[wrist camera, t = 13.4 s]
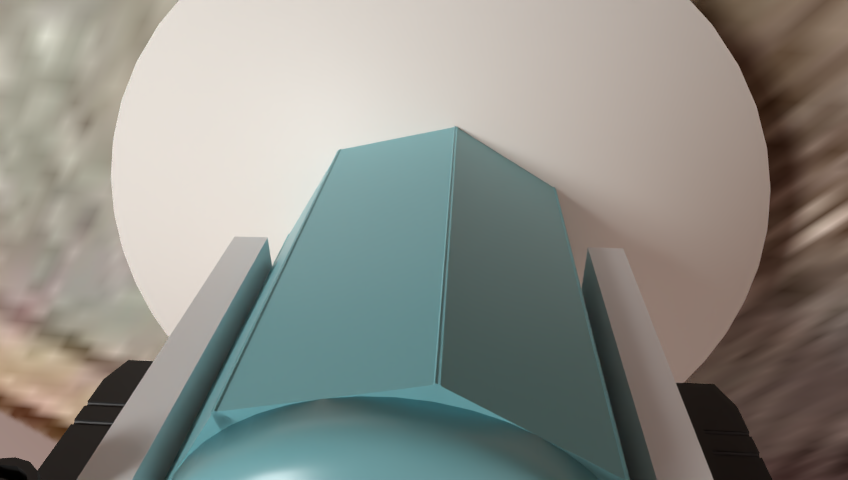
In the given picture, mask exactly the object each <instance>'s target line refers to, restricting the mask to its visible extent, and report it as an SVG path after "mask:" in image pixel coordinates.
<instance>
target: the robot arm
mask: <svg viewBox="0 0 848 480" xmlns="http://www.w3.org/2000/svg"><path fill="white" fill-rule="evenodd" d="M271 268H272V262H271V256H270V250H269V243H268V237H236V236H235V237H234V238H233V240H232V241H231V243H230V244H229V246H228V247H227V249H226V250H225V252H224V254H223V255H222V257H221V258H220V260H219V261H218V263H217V264H216V266H215V267H214V269H213V270H212V272H211V274H210V275H209V277H208V278H207V280H206V281H205V283H204V284H203V286H202V287H201V289H200V290H199V292H198V293H197V295H196V297H195V298H194V300H193V301H192V303H191V304H190V306H189V307H188V309H187V310H186V312H185V313H184V315H183V317H182V318H181V320H180V321H179V323H178V324H177V326H176V327H175V329H174V330H173V332H172V333H171V335H170V337H169V338H168V340H167V341H166V343H165V344H164V346H163V347H162V349H161V350H160V352H159V353H158V355H157V357H156V358H155V360H154V361H134V360H128V361H127V362H126V363H124V364H123V365H122V366H120V367H119V368H118V369H116V370H115V371H114V372H112V373H111V374H110V375H109V376H107V377H106V378H105V379H104V380H103V381H102V382H101V384H100V385H99V387H98V388H97V389H96V391H95V392H94V393H93V395H92V396H91V398H90V399H89V400H88V405H87V406H84V407H83V409H82V410H81V411H80V413H79V414H78V416H77V417H76V418H75V422H74V424H73V425H72V424H71V425H70V427H69V428H68V429H67V431H66V432H65V433H64V435H63V436H62V438H61V439H60V440H59V442H58V443H57V444H56V446H55V447H54V449H53V450H52V451H51V453H50V454H49V456H48V457H47V458H46V460H45V461H44V462H43V464H42V465H41V467H40V468H39V469H38V471H37V470H36V469H35V468H34V466H33V465H32V464H31V463H30V462H29V461H25V460H22V459H19V458H2V459H0V480H164V479H165V477H166V475H167V473H168V471H169V469H170V467H171V465H172V463H173V461H174V460H175V458H176V456H177V454H178V452H179V450H180V448H181V446H182V444H183V442H184V440H185V438H186V436H187V434H188V432H189V430H190V428H191V426H192V424H193V422H194V420H195V418H196V416H197V414H198V412H199V410H200V408H201V406H202V404H203V402H204V400H205V398H206V396H207V394H208V392H209V391H210V389H211V387H212V385H213V383H214V381H215V379H216V377H217V375H218V373H219V371H220V369H221V367H222V365H223V363H224V361H225V359H226V357H227V355H228V353H229V351H230V349H231V347H232V345H233V343H234V341H235V339H236V337H237V335H238V333H239V331H240V329H241V327H242V325H243V324H244V322H245V320H246V318H247V316H248V314H249V312H250V310H251V308H252V306H253V304H254V302H255V300H256V298H257V296H258V294H259V292H260V290H261V288H262V286H263V284H264V282H265V280H266V278H267V276H268V274H269V272H270V270H271ZM581 289H582V293H583V297H584V301H585V305H586V309H587V313H588V316H589V320H590V324H591V328H592V332H593V336H594V340H595V344H596V348H597V352H598V356H599V360H600V364H601V367H602V371H603V375H604V379H605V383H606V387H607V391H608V395H609V399H610V403H611V407H612V411H613V415H614V418H615V422H616V426H617V430H618V434H619V438H620V442H621V446H622V450H623V454H624V458H625V462H626V466H627V470H628V473H629V477H630V480H772V478H771V476H770V474H769V472H768V470H767V468H766V466H765V464H764V462H763V460H762V458H760V457H759V451H758V449H757V447H756V445H755V443H754V441H753V439H752V437H749V431H748V429H747V427H746V425H745V423H744V421H743V418H742V416H741V414H740V412H739V410H738V408H737V406H736V405H735V404H734V403H733V402H732V401H731V400H730V399H729V398H728V397H726V396H725V395H724V394H723V393H722V392H721V391H720V390H719V389H718V388H717V387H716V386H715V385H714V384H694V383H676V382H675V380H674V377H673V375H672V372H671V369H670V367H669V364H668V362H667V359H666V357H665V354H664V351H663V349H662V346H661V344H660V341H659V339H658V336H657V334H656V331H655V328H654V326H653V323H652V321H651V318H650V316H649V313H648V311H647V308H646V305H645V303H644V300H643V298H642V295H641V293H640V290H639V287H638V285H637V282H636V280H635V277H634V275H633V272H632V270H631V267H630V264H629V262H628V259H627V257H626V254H625V252H624V249H623V248H594V247H588V249H587V256H586V262H585V269H584V275H583V282H582V288H581Z"/></svg>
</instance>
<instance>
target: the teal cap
mask: <svg viewBox="0 0 848 480" xmlns="http://www.w3.org/2000/svg"><path fill="white" fill-rule="evenodd" d="M164 480H630V477H629V473H628V470H627V466H626V462H625V458H624V454H623V450H622V446H621V442H620V438H619V434H618V430H617V426H616V422H615V418H614V415H613V411H612V407H611V403H610V399H609V395H608V391H607V387H606V383H605V379H604V375H603V371H602V367H601V364H600V360H599V356H598V352H597V348H596V344H595V340H594V336H593V332H592V328H591V324H590V320H589V316H588V313H587V309H586V305H585V301H584V297H583V293H582V289H581V285H580V281H579V277H578V273H577V269H576V265H575V262H574V258H573V254H572V250H571V246H570V242H569V238H568V234H567V230H566V226H565V222H564V218H563V214H562V210H561V207H560V203H559V199H558V195H557V191H556V189H555V187H552V186H550V185H549V184H547V183H546V182H544V181H542V180H541V179H539V178H538V177H536V176H534V175H533V174H531V173H530V172H528V171H526V170H525V169H523V168H522V167H520V166H518V165H517V164H515V163H513V162H512V161H510V160H509V159H507V158H505V157H504V156H502V155H501V154H499V153H497V152H496V151H494V150H493V149H491V148H489V147H488V146H486V145H485V144H483V143H481V142H480V141H478V140H477V139H475V138H473V137H472V136H470V135H469V134H467V133H465V132H464V131H462V130H461V129H459V128H458V126H457V127H456V126H454V127H452V128H447V129H442V130H437V131H432V132H427V133H422V134H417V135H412V136H407V137H401V138H396V139H391V140H386V141H381V142H376V143H371V144H366V145H361V146H356V147H351V148H346V149H339V150H338V151H337V153H336V155H335V157H334V159H333V161H332V163H331V165H330V166H329V168H328V170H327V171H326V173H325V175H324V176H323V178H322V180H321V182H320V183H319V185H318V187H317V188H316V190H315V192H314V193H313V195H312V197H311V198H310V200H309V202H308V204H307V205H306V207H305V209H304V210H303V212H302V214H301V215H300V217H299V219H298V220H297V222H296V224H295V226H294V227H293V229H292V231H291V232H290V234H288V236H287V238H286V240H285V242H284V244H283V246H282V248H281V250H280V252H279V254H278V255H277V257H276V259H275V261H274V263H273V265H272V268H271V270H270V272H269V274H268V276H267V278H266V280H265V282H264V284H263V286H262V288H261V290H260V292H259V294H258V296H257V298H256V300H255V302H254V304H253V306H252V308H251V310H250V312H249V314H248V316H247V318H246V320H245V322H244V324H243V325H242V327H241V329H240V331H239V333H238V335H237V337H236V339H235V341H234V343H233V345H232V347H231V349H230V351H229V353H228V355H227V357H226V359H225V361H224V363H223V365H222V367H221V369H220V371H219V373H218V375H217V377H216V379H215V381H214V383H213V385H212V387H211V389H210V391H209V392H208V394H207V396H206V398H205V400H204V402H203V404H202V406H201V408H200V410H199V412H198V414H197V416H196V418H195V420H194V422H193V424H192V426H191V428H190V430H189V432H188V434H187V436H186V438H185V440H184V442H183V444H182V446H181V448H180V450H179V452H178V454H177V456H176V458H175V460H174V461H173V463H172V465H171V467H170V469H169V471H168V473H167V475H166V477H165V479H164Z"/></svg>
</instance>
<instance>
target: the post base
mask: <svg viewBox="0 0 848 480" xmlns="http://www.w3.org/2000/svg"><path fill="white" fill-rule="evenodd" d="M454 126H456V127H457V126H458V128H459V129H461V130H462V131H464V132H465V133H467V134H469V135H470V136H472V137H473V138H475V139H477V140H478V141H480V142H481V143H483V144H485V145H486V146H488V147H489V148H491V149H493V150H494V151H496V152H497V153H499V154H501V155H502V156H504V157H505V158H507V159H509V160H510V161H512V162H513V163H515V164H517V165H518V166H520V167H522V168H523V169H525V170H526V171H528V172H530V173H531V174H533V175H534V176H536V177H538V178H539V179H541V180H542V181H544V182H546V183H547V184H549V185H550V186H552V187H555V189H556V191H557V195H558V199H559V203H560V207H561V210H562V214H563V218H564V222H565V226H566V230H567V234H568V238H569V242H570V246H571V250H572V254H573V258H574V262H575V265H576V269H577V273H578V277H579V281H580V285H581V288H582V282H583V275H584V269H585V262H586V256H587V249H588V247H594V248H623V249H624V252H625V254H626V257H627V259H628V262H629V264H630V267H631V270H632V272H633V275H634V277H635V280H636V282H637V285H638V287H639V290H640V293H641V295H642V298H643V300H644V303H645V305H646V308H647V311H648V313H649V316H650V318H651V321H652V323H653V326H654V328H655V331H656V334H657V336H658V339H659V341H660V344H661V346H662V349H663V351H664V354H665V357H666V359H667V362H668V364H669V367H670V369H671V372H672V375H673V377H674V380H675V382H676V383H684V382H685V381H686V380H687V379H688V378H689V377H690V376H691V375H692V374H693V373H694V372H695V371H696V370H697V369H698V368H699V367H700V366H701V365H702V364H703V363H704V362H705V360H706V359H707V358H708V356H709V355H710V354H711V353H712V351H713V350H714V349H715V347H716V346H717V345H718V343H719V342H720V341H721V339H722V338H723V337H724V336H725V334H726V333H727V331H728V330H729V328H730V326H731V324H732V323H733V321H734V319H735V317H736V316H737V314H738V312H739V310H740V309H741V307H742V305H743V303H744V302H745V299H746V297H747V294H748V292H749V289H750V287H751V284H752V282H753V279H754V277H755V274H756V272H757V269H758V267H759V263H760V259H761V255H762V250H763V246H764V242H765V238H766V234H767V229H768V216H769V203H770V191H771V189H770V177H769V165H768V153H767V146H766V142H765V138H764V134H763V130H762V126H761V122H760V118H759V114H758V110H757V106H756V104H755V102H754V100H753V97H752V95H751V93H750V90H749V88H748V86H747V84H746V81H745V79H744V77H743V74H742V72H741V70H740V67H739V65H738V64H737V62H736V61H735V59H734V57H733V56H732V54H731V53H730V51H729V50H728V48H727V47H726V45H725V44H724V42H723V41H722V39H721V37H720V36H719V34H718V33H717V31H716V30H715V28H714V27H713V25H712V24H711V23H710V22H709V21H708V20H707V18H706V17H705V16H704V15H703V14H702V13H701V12H700V11H699V10H698V9H697V7H696V6H695V5H694V4H693V3H692V2H691V1H690V0H179V1H178V2H177V3H176V5H175V6H174V7H173V8H172V9H171V10H170V12H169V13H168V14H167V15H166V16H165V18H164V19H163V20H162V21H161V22H160V24H159V25H158V27H157V28H156V30H155V32H154V33H153V35H152V37H151V39H150V40H149V42H148V44H147V45H146V47H145V49H144V50H143V52H142V54H141V55H140V57H139V59H138V60H137V62H136V65H135V67H134V70H133V73H132V75H131V78H130V80H129V83H128V85H127V88H126V90H125V93H124V96H123V98H122V101H121V106H120V110H119V115H118V119H117V124H116V129H115V133H114V138H113V151H112V168H111V183H112V194H113V205H114V215H115V219H116V223H117V228H118V232H119V236H120V240H121V245H122V249H123V252H124V254H125V257H126V259H127V262H128V265H129V267H130V270H131V272H132V275H133V278H134V280H135V283H136V285H137V286H138V288H139V290H140V292H141V294H142V296H143V298H144V299H145V301H146V303H147V305H148V307H149V309H150V311H151V312H152V314H153V316H154V317H155V318H156V320H157V321H158V323H159V324H160V325H161V327H162V328H163V330H164V331H165V333H166V334H167V335H168V337H170V335H171V333H172V332H173V330H174V329H175V327H176V326H177V324H178V323H179V321H180V320H181V318H182V317H183V315H184V313H185V312H186V310H187V309H188V307H189V306H190V304H191V303H192V301H193V300H194V298H195V297H196V295H197V293H198V292H199V290H200V289H201V287H202V286H203V284H204V283H205V281H206V280H207V278H208V277H209V275H210V274H211V272H212V270H213V269H214V267H215V266H216V264H217V263H218V261H219V260H220V258H221V257H222V255H223V254H224V252H225V250H226V249H227V247H228V246H229V244H230V243H231V241H232V240H233V238H234V237H235V236H236V237H268V243H269V250H270V256H271V262H272V265H273V263H274V261H275V259H276V257H277V255H278V254H279V252H280V250H281V248H282V246H283V244H284V242H285V240H286V238H287V236H288V234H290V232H291V231H292V229H293V227H294V226H295V224H296V222H297V220H298V219H299V217H300V215H301V214H302V212H303V210H304V209H305V207H306V205H307V204H308V202H309V200H310V198H311V197H312V195H313V193H314V192H315V190H316V188H317V187H318V185H319V183H320V182H321V180H322V178H323V176H324V175H325V173H326V171H327V170H328V168H329V166H330V165H331V163H332V161H333V159H334V157H335V155H336V153H337V151H338V150H339V149H346V148H351V147H356V146H361V145H366V144H371V143H376V142H381V141H386V140H391V139H396V138H401V137H407V136H412V135H417V134H422V133H427V132H432V131H437V130H442V129H447V128H452V127H454Z"/></svg>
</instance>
